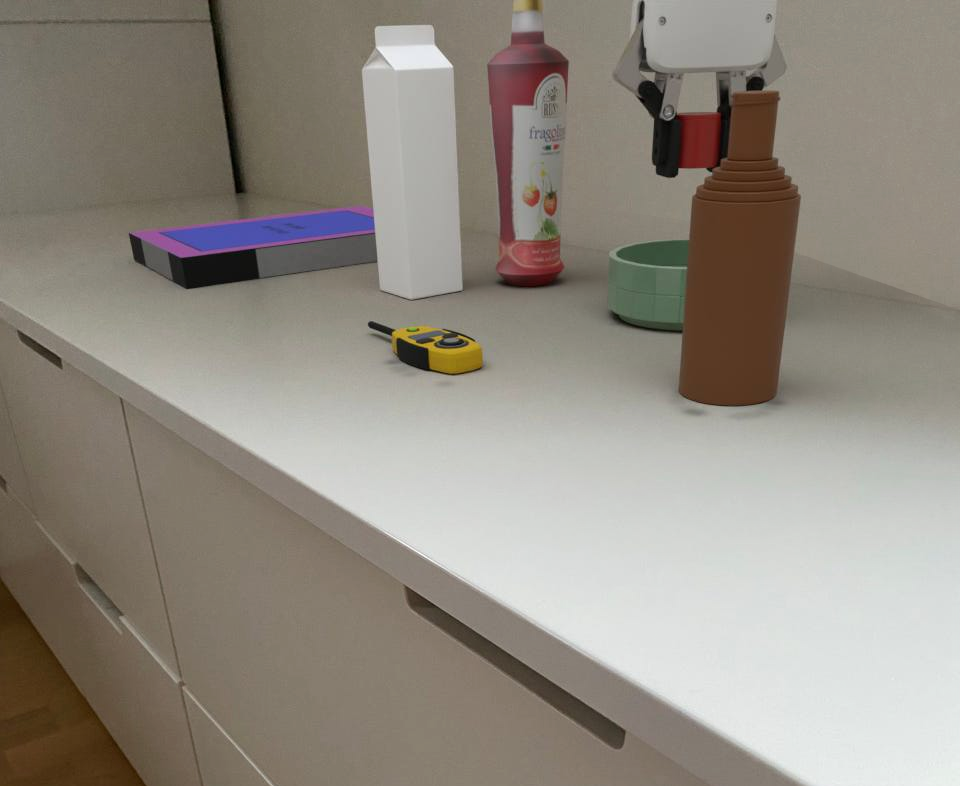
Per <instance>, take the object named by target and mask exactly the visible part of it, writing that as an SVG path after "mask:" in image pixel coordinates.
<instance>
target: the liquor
mask: <svg viewBox="0 0 960 786" xmlns="http://www.w3.org/2000/svg"><path fill="white" fill-rule="evenodd" d="M512 3H513V4H512V16H511V17H512V18H511V34H510V45H508V46H506V47H505V48H503V49H502V50H500V51H499V52H497V53H495V55H494V56H493V57H492V58H491V59H490V60H489V62H487V64H486V66H487V67H486V68H487V69H486V70H487V83H488V96H489V97H488V99H489V114H490V115H489V116H490V131H491V132H490V133H491V142H492V143H491V144H492V153H493V154H492V155H493V166H494V167H493V168H494V181H495V196H496V198H495V199H496V213H497V233H498V256H499V260H498V262H497V264H496V266H495V267H494V270H495V271H496V273H497V274H498V275H499V276H500V277H502V278H503V280H505V281H506V283H507V284H509V285H511V286H514V287H540V286H546V285H549V284H552V283H553V282H554V281H555V280H556V278H558V276H559V275H560V274H562V271H563V270H564V269H565V268H566V267H565V265H564V263H563V261H562V259H561V240H562V239H561V237H562V236H561V235H562V205H563V204H562V203H563V181H564V179H563V178H564V163H565V161H564V160H565V149H566V148H565V147H566V132H567V131H566V130H567V112H568V110H567V108H568V85H569V84H568V83H569V66H570V61H569V60H568V59H567V57H566V56H565V55H564V54H563V53H562V52H561V51H560V50H558V49H556V48H554V47H553V46H551V45H548V44H547V43H546V41H545V30H544V15H543V5H542V3H543V2H542V0H513V1H512Z"/></svg>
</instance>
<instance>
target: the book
mask: <svg viewBox="0 0 960 786" xmlns="http://www.w3.org/2000/svg"><path fill="white" fill-rule="evenodd" d="M128 238H129V240H130V241H129V242H130V246H131V251H132V256H133V260H134V261H135V262H137V263H139V264H141V265H143V266H145V267H146V268H148V269H150V270H151V271H153V272H156V273H157V274H159V275H161V276H163V278H164V277H165V278H166V279H168V280H170V281H172V282H174V283H175V284H177V285H179V286H181V287H182V288H185V289H186V290H187V289H194V288H201V287H208V286H214V285H215V286H216V285H223V284H228V283H236V282H242V281H249V280H256V279H264V278H269V277H270V278H271V277H277V276H283V275H291V274H298V273H304V272H305V273H306V272H312V271H318V270H319V271H320V270H326V269H332V268H338V267H339V268H340V267H346V266H354V265H360V264H368V263H374V262H375V263H376V262H378V259H377V247H376V235H375V223H374V211H373V207H368V206H364V205H356V206H347V207H338V208H330V209H320V210H313V211H303V212H295V213H287V214H279V215H272V216H271V215H268V216H261V217H260V216H259V217H252V218H244V219H234V220H227V221H218V222H207V223H201V224H192V225H183V226H176V227H167V228H157V229H149V230H141V231H132V232H128Z"/></svg>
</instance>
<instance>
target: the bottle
mask: <svg viewBox="0 0 960 786" xmlns="http://www.w3.org/2000/svg"><path fill="white" fill-rule="evenodd" d="M731 98H733V99H732V103H730V105H732V110H731V122H730V133H729V145H728V157H727V158H723V159H721V165H720V167H716V168H714V169H713V172H711V175H707V176H706V177H704V181H703V183H702V184H699V185H697V186H696V189H695V190H696V191H695V194H693V195H692V196H691V207H690V208H691V209H690V223H689V237H688V239H689V249H688V263H687V277H686V291H685V305H684V319H683V331H682V335H681V351H680V352H681V353H680V361H679V362H680V364H679V377H678V378H679V379H678V392H679V394H680V395H681V396H683V397H685V398H686V399H688V400H691V401H694V402H698V403H702V404H707V405H715V406H731V407H732V406H733V407H734V406H736V407H737V406H748V405H750V406H751V405H756V404H760V403H764V402H768V401H770V400H772V399H774V397H775V396H776V395H777V392H778V386H779V385H778V384H779V377H780V371H781V362H782V361H781V360H782V352H783V346H784V345H783V344H784V339H785V338H784V337H785V329H786V320H787V312H788V305H789V296H790V289H791V280H792V272H793V264H794V256H795V249H796V248H795V247H796V241H797V234H798V233H797V232H798V225H799V216H800V209H801V201H802V200H801V199H802V195H801V194H800V193H799V185H798V184H795V183H793V182H792V179H793V177H792V176H791V175H787V174H786V167H784V166H782V165H779V160H780V159H779V158H778V157H774V156H773V155H774V146H775V137H776V128H777V118H778V109H779V102H780V101H781V96H780V90H762V91H740V92H734V93H733V95H731Z"/></svg>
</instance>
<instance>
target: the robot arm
mask: <svg viewBox="0 0 960 786" xmlns="http://www.w3.org/2000/svg"><path fill="white" fill-rule="evenodd" d="M777 6H778V0H632V7H631V18H630V27H629V38H628V39H629V40H628V43H627V44H626V46H625V48H624V50H623V52H622V54H621V55H620V56H619V59H618V61H617V63H616V65H615V66H614V68H613V70H612V78H613V80H614V81H615V82H616V83H618V84H619V85H621V86H622V87H623V88H624V89H626V90H627V91H629V92H631V93H632V94H634V96H635V97H636V98H637V99H638V101H639V102H640V103H641V104H642V106H643V107H644V108H645V110H647V112H648V115H649V117H650V118H651V119H653V128H652V129H653V132H652V148H651V164H652V165H653V166H655V174H656V175H657V176H660V177H664V178H666V179H674V178H676V177H677V176H678V175H679V169H680V168H679V157H680V143H681V130H682V124H681V122H680V120H676V118H677V113H678V111H677V110H678V104H679V99H680V94H681V91H682V84H683V81H684V80H683V79H684V75H685V74H699V73H700V74H701V73H715V83H716V85H715V86H716V105H717V108H716V112H719V113H721V132H720V143H719V155H718V162H717V166H715V167H710V168H705V169H706V171H708V172H709V173H712V172H713V169H714V168H716V167H720V165H721V159H723V158H727V157H728V145H729V133H730V122H731V110H732V105H730V103H732V99H733V98H731V95H733V93H734V92H740V91H764V89H765V88H767V87H769V86H770V85H771V84H773V83H774V82H775V81H777V80H778V79H779V78H781V77H783V75H784V74H786V72H787V62H786V61H785V57H784V55H783V53H782V50H781V47H780V45H779V42H778V39H777V37H776V35H775V31H776V20H777V9H778V7H777ZM753 70H754V71H753ZM747 71H753V72H752V73H751V74H749V75H747V74H746V73H747ZM641 72H643V73H654V79H653V81H652V80H649V78H647V77H646V76H645V75H643V74H642V73H641Z"/></svg>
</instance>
